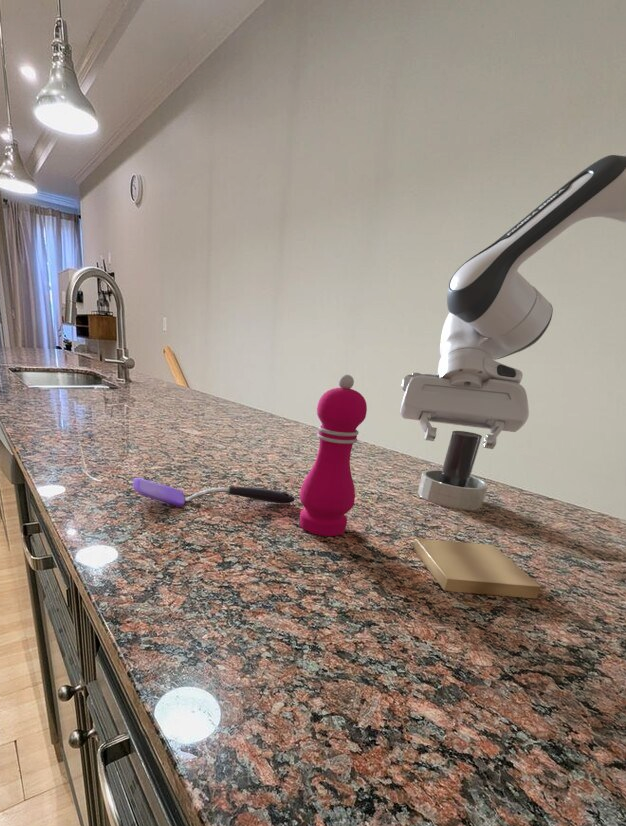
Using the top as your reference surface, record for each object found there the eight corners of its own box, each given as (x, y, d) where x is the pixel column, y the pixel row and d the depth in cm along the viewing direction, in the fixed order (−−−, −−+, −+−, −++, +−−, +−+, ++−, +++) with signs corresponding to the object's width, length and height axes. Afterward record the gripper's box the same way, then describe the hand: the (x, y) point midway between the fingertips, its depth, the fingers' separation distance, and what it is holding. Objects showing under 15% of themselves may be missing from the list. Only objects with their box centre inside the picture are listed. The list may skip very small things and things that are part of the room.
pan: (464, 493, 81) (470, 472, 79) (492, 515, 71) (500, 491, 70) (408, 488, 81) (413, 467, 79) (429, 509, 71) (435, 485, 70)
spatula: (288, 496, 71) (290, 481, 70) (299, 512, 65) (301, 496, 64) (134, 491, 67) (134, 475, 66) (130, 508, 61) (130, 491, 60)
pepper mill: (310, 512, 65) (332, 370, 58) (356, 527, 62) (387, 377, 54) (285, 526, 60) (306, 371, 52) (334, 543, 56) (365, 379, 49)
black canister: (456, 494, 78) (474, 432, 74) (467, 503, 74) (487, 437, 70) (431, 492, 78) (447, 429, 74) (441, 501, 74) (459, 435, 70)
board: (490, 555, 57) (494, 544, 56) (536, 599, 48) (541, 586, 47) (412, 548, 57) (415, 538, 56) (444, 590, 48) (447, 578, 47)
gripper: (407, 360, 80) (399, 423, 74) (532, 372, 76) (533, 440, 70) (400, 383, 85) (392, 444, 80) (516, 396, 81) (516, 461, 76)
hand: (459, 442), depth 75 cm, fingers open, 8 cm apart
